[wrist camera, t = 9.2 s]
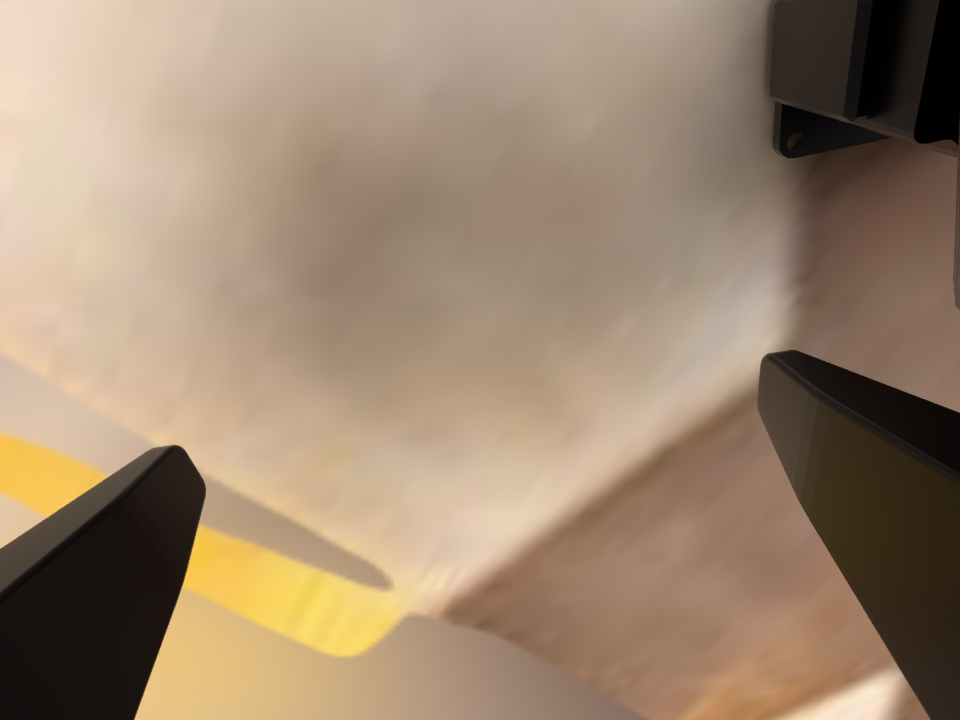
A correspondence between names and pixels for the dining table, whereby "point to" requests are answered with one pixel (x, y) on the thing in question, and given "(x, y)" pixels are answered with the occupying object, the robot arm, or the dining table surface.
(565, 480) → the dining table surface
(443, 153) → the dining table surface
